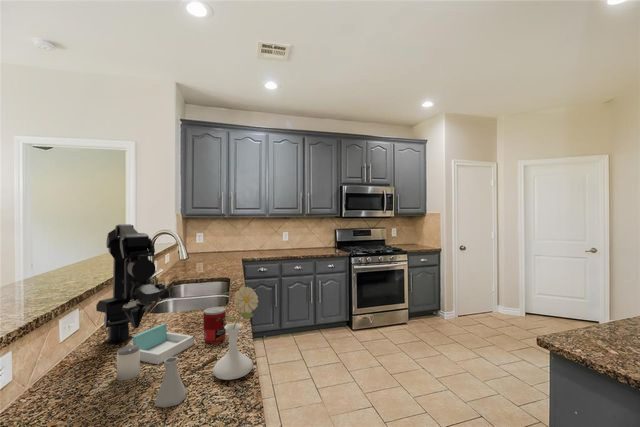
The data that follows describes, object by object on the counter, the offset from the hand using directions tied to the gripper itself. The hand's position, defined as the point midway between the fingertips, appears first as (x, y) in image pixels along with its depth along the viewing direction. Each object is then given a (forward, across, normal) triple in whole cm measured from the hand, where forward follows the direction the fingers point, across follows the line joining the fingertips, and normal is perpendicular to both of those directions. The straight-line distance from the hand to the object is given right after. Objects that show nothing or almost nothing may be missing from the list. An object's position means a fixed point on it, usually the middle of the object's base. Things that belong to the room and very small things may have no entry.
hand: (136, 328), depth 88 cm
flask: (+14, -5, -22) cm, 26 cm away
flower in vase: (+13, +12, -28) cm, 33 cm away
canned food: (+13, +27, -4) cm, 30 cm away
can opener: (+14, +12, -16) cm, 24 cm away
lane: (+12, +12, +7) cm, 18 cm away
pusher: (+12, +11, +10) cm, 19 cm away
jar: (+13, -2, 0) cm, 13 cm away
